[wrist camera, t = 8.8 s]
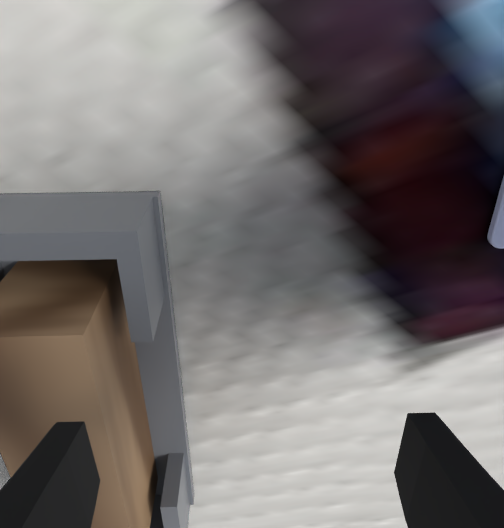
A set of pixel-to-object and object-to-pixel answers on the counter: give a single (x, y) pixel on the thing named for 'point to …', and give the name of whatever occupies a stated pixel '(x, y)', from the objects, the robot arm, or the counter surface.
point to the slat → (76, 378)
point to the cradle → (135, 299)
